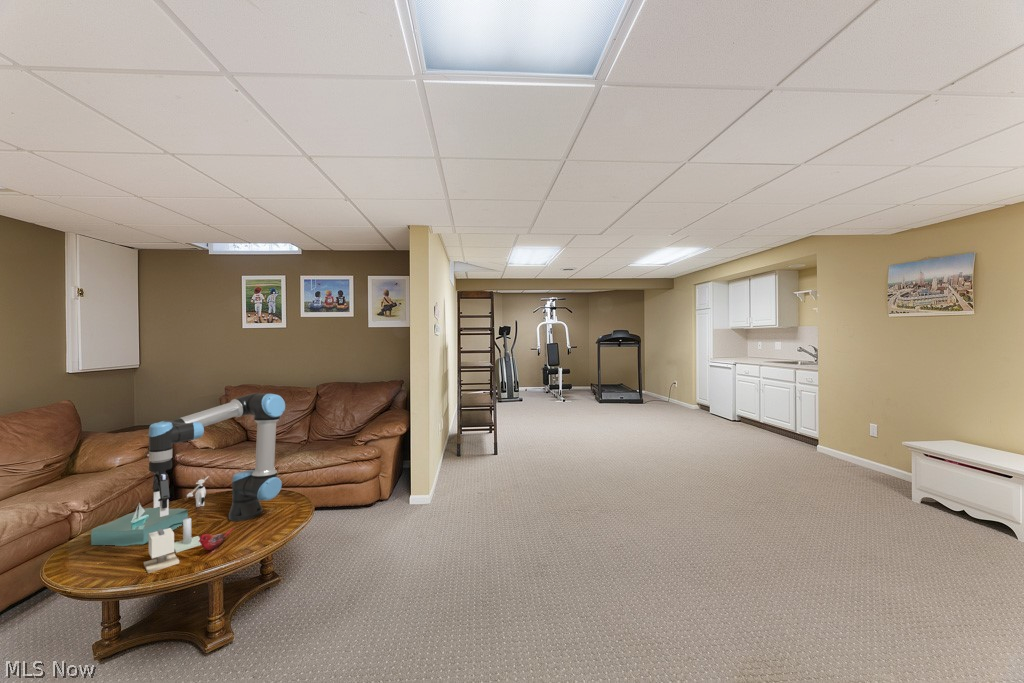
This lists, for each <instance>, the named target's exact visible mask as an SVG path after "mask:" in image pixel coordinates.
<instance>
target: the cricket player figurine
mask: <svg viewBox="0 0 1024 683" xmlns="http://www.w3.org/2000/svg"><path fill="white" fill-rule="evenodd" d="M209 478H210V476H209V475H208V476H206V477H204V479H202V478H200V479H199V480H197V481H196V482H195V485H197V486H196V487H194V489H193V490H191V491H190V492H189V493H187V494H186V498H190V497H191V498H195V506H196V508H199V507H205V500H206V499H205V497H206V495H207V489H206V487H205V486H203V485H204V483H206V480H207V479H209ZM195 491H196V492H195ZM194 492H195V494H194Z"/></svg>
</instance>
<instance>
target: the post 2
mask: <svg viewBox="0 0 1024 683" xmlns="http://www.w3.org/2000/svg"><path fill="white" fill-rule="evenodd" d="M199 540H200V536H199V535H197V536H194V537H192V517H188V518H186V519H184V520H183V525H182V540H179V541H174V553H175V554H177V553H181V552H183V551H186V550H189V549H192V548H196V547H199V546H202V545H201V543H200V542H199Z"/></svg>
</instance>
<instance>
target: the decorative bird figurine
mask: <svg viewBox="0 0 1024 683" xmlns="http://www.w3.org/2000/svg"><path fill="white" fill-rule="evenodd" d="M233 530H235V527H233V528H232V529H229V530H228V531H227V532H226V533H217V534H212V535H211V534H209V533H204V534H202V535H201V536H199V538H200V540H199V542H200V543H201V545H200V546H202V548H203V550H206V551H210V552H208V555H210V554H213V553H214V552H216V551H217V550H218V547H219V546H220V545H221V544H222V543H223V542H224V541H225V540H226V538H227V536H228V535H230V534H231V532H232V531H233Z"/></svg>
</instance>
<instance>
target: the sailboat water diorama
mask: <svg viewBox="0 0 1024 683" xmlns="http://www.w3.org/2000/svg"><path fill="white" fill-rule="evenodd" d="M188 510H189V509H188V508H187V509H186V508H179V507H178V508H169V515H166V516H162V517H160V507H157V508H154V507H145V508H144V507H143V506H142V505H141V503H140V501H139V502H138V504H137V507H136V509H135V511H134V512H131V513H127V514H125V515H123V516H121V517H119V518H117V519H115V520H112V521H110V522H108V523H104V524H101V525H98V526H96V527H94V528H93V529H91V530H90V546H105V545H115V546H118V547H119V546H121V547H127V546H134V545H146V544H149V533H153V532H156V531H158V529H163V530H164V529H168V528H171V529H172V531H173V530H176V529H178V528H179V526H180V527H181V526H183V525H182V524H183V520H184V519H186V518H189V512H188ZM177 527H178V528H177ZM115 546H114V547H115Z"/></svg>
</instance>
